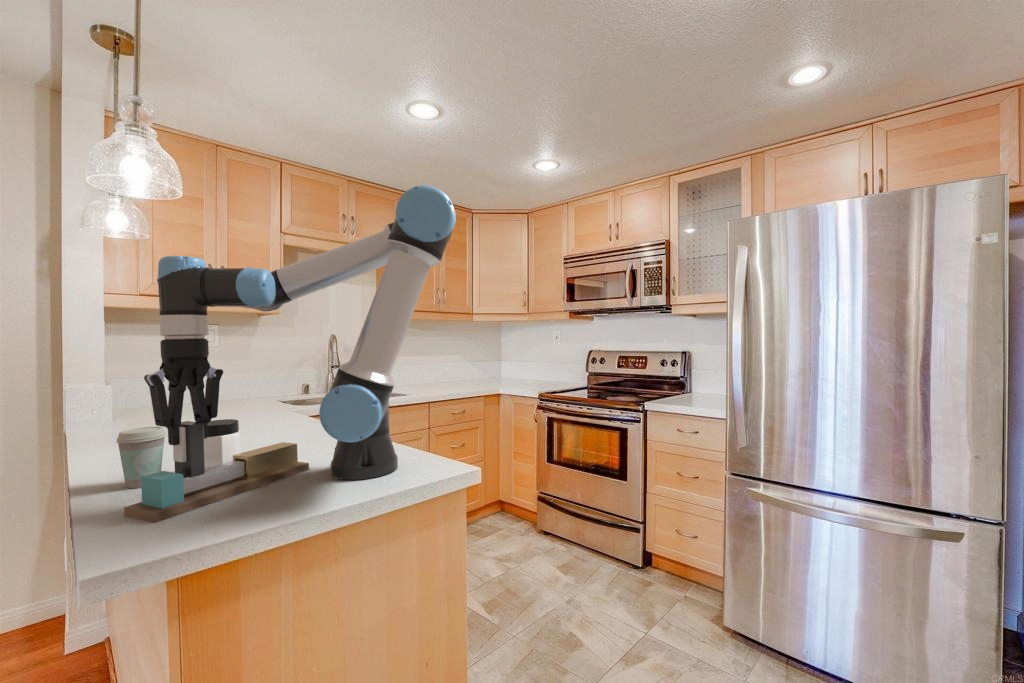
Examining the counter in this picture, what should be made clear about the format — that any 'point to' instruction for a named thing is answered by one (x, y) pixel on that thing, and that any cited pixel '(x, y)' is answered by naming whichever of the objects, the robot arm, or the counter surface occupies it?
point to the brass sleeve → (268, 459)
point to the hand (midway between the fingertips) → (189, 458)
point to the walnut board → (210, 494)
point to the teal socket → (162, 489)
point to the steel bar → (194, 466)
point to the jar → (221, 442)
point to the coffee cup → (140, 453)
